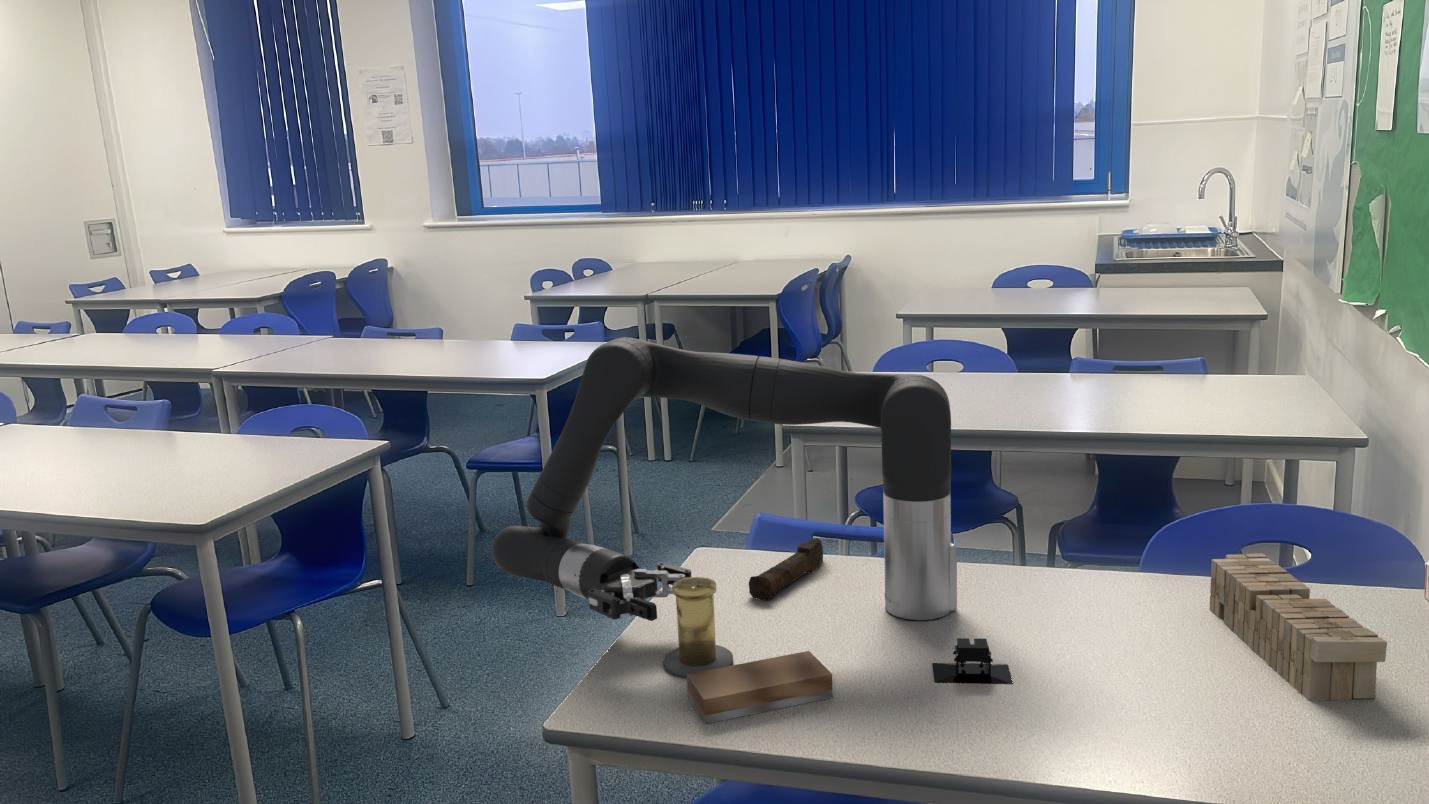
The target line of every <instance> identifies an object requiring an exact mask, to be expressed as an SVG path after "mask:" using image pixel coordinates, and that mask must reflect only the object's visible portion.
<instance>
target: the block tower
mask: <svg viewBox="0 0 1429 804" xmlns="http://www.w3.org/2000/svg"><path fill="white" fill-rule="evenodd" d="M1210 565H1211V567H1210V568H1211V570H1210V577H1211V578H1210V591H1209V593H1210V595H1209V609H1208V610H1209V611H1210V612H1211V613H1212V614H1213V615H1214V616H1215V617H1216V618H1218V619H1223V624H1224V625H1225V626H1227V628H1228V629H1229V630H1230V631H1231V632H1232V633H1234V634H1235V635H1236V636H1237V637H1238V638H1239V639H1240V640H1241V641H1242V642H1243V643H1244V644H1245V645H1246V646H1247V647H1248V648H1249V649H1250V650H1251V651H1252V652H1254V654H1256V656H1258V657H1260V658H1261V659H1262V660H1263V661H1264V662H1265V664H1267V666H1269V667H1270V668H1271V669H1272V670H1273V671H1274V672H1275V673H1277V675H1279V676H1280V678H1283V680H1284V681H1286V683H1288V684H1289V685H1290V686H1291V688H1293V689H1295V690H1296V691H1297V692H1298V693H1299V694H1301V695H1302V697H1303V698H1304V699H1306V700H1307V701H1329V700H1331V701H1332V700H1334V701H1335V700H1337V701H1338V700H1341V701H1342V700H1344V701H1345V700H1347V701H1349V700H1352V698H1353V699H1375V698H1376V691H1377V687H1376V686H1377V684H1376V683H1377V669H1378V667H1377V666H1378V663H1385V662H1386V656H1387V649H1388V642H1387V641H1386V640H1385V639H1384V638H1382V637H1380V636H1379V635H1378V633H1376V632H1375V631H1372V630H1370V629H1369V628H1367V627H1364V626H1363V625H1362V624H1360V623H1359V622H1358V621H1357V620H1355V619H1354V618H1353V617H1350V615H1348V614H1347V613H1345V612H1344V611H1343V609H1340V608H1339V607H1336V605H1334V604H1333V603H1332V602H1331V601H1330V600H1329V599H1327V598H1310V596H1311V588H1310V587H1309V586H1307V585H1306V584H1305V583H1303V582H1301V581H1300V580H1298V579H1297V578H1296V577H1295V576H1294V575H1292V574H1291V573H1289V572H1288V571H1287V570H1286V569H1285V568H1283V567H1282V566H1280V565H1279V564H1277V563H1276V562H1274V561H1273V560H1271V559H1270V558H1268V556H1267V555H1266V554H1264V553H1245V554H1226V555H1225V558H1213V559H1211V564H1210Z"/></svg>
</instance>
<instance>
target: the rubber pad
mask: <svg viewBox="0 0 1429 804" xmlns="http://www.w3.org/2000/svg"><path fill="white" fill-rule="evenodd" d="M732 665H734V655H733V653H732V651H731V650H729V649H728V648H727V647H725V646H722V645H718V644H716V660H715V661H714V662H712V663H710V664H707V665H703V666H689V665H685V664H683V663H681V662H680V660H679V646H678V647H675V648H673V649H672V650H670V651H669V652H668V653H666V654H665V656H664V658H663V666H664V669H665V671H666V672H667V673H668V674H671V675H673V676H675V677H677V678H678V677H679V678H683V679H687V674H690V673H695V672H701V671H706V670H711V669H716V668H722V667H727V666H732Z"/></svg>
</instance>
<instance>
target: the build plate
mask: <svg viewBox="0 0 1429 804" xmlns="http://www.w3.org/2000/svg"><path fill="white" fill-rule="evenodd" d="M952 655H954V657H953V661H954V662H932V663H931V667H932V676H933V683H934V684H962V685H963V684H968V685H969V684H971V685H972V684H973V685H975V684H976V685H977V684H978V685H979V684H980V685H1014V680H1013V677H1012V674H1011V670H1010V666H1009V665H1008V664H1006V663H1002V664H1001V663H993V662H994V661H993V658H992V651H991V650H990V646H989V643H988V640H987V638H980V637H979V638H977V637H975V638H973V644H972V643H971V641H970V638H969V637H967V638H966V637H956V644H954V650H952ZM1009 670H1010V671H1009ZM1011 677H1012V678H1011ZM1011 679H1012V680H1013V681H1012V680H1011ZM1012 682H1013V683H1012Z"/></svg>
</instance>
